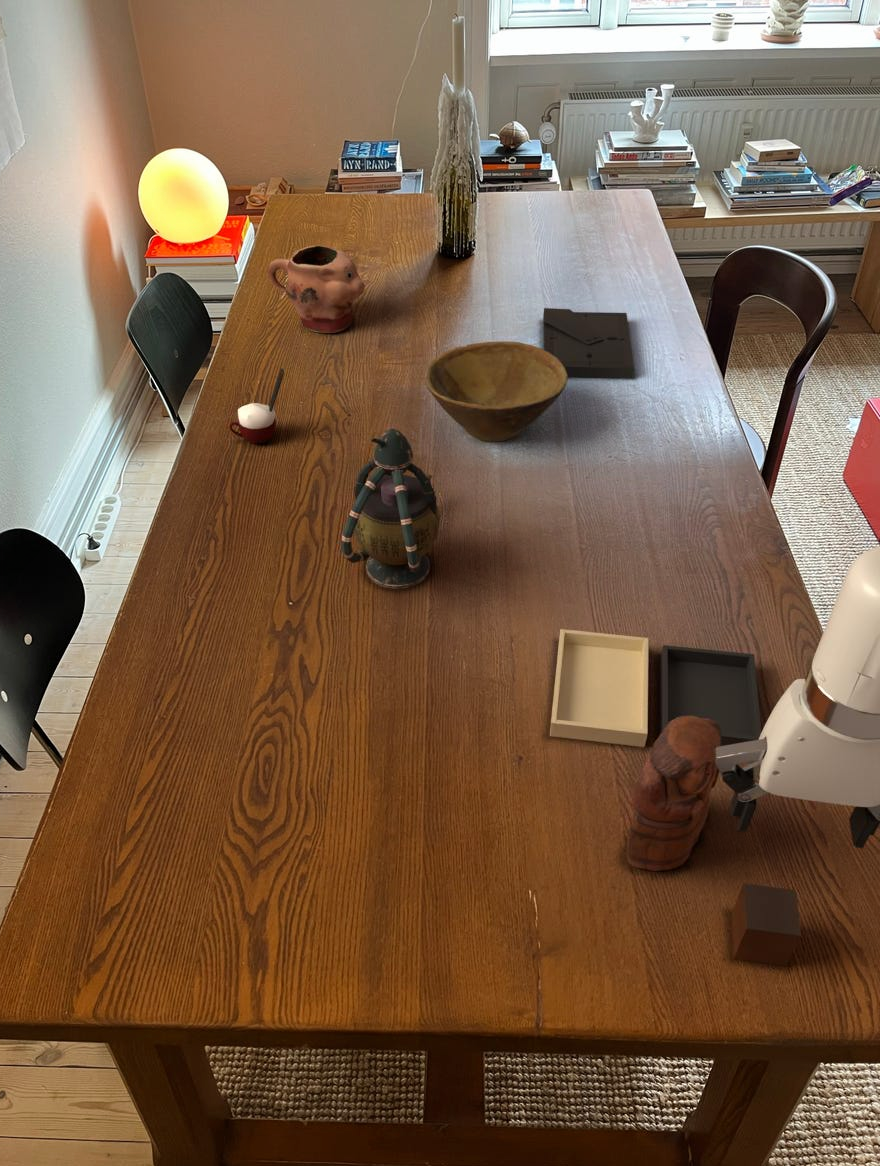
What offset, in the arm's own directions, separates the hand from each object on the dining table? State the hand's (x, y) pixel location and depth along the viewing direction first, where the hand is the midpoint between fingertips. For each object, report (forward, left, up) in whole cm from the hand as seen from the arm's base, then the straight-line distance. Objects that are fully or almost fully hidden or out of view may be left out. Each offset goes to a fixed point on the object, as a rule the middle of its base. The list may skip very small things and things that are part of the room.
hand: (797, 826), depth 88 cm
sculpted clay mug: (+74, -122, -19) cm, 144 cm away
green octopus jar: (+45, -55, -19) cm, 74 cm away
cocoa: (+74, -81, -19) cm, 111 cm away
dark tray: (+3, -31, -19) cm, 37 cm away
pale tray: (+16, -31, -19) cm, 40 cm away
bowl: (+36, -90, -19) cm, 99 cm away
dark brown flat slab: (+22, -118, -19) cm, 121 cm away
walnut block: (-1, 0, -19) cm, 19 cm away
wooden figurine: (+8, -11, -19) cm, 24 cm away
